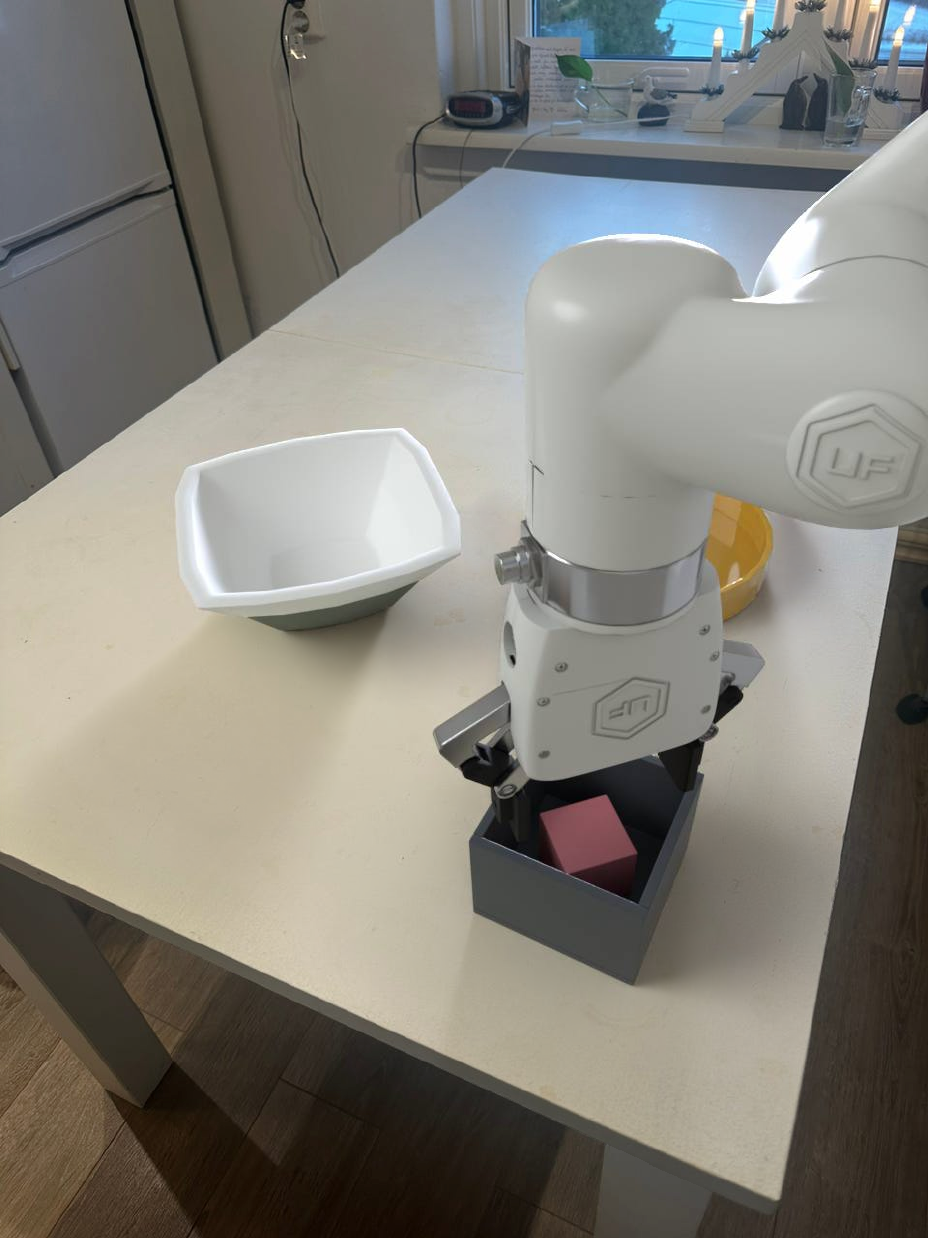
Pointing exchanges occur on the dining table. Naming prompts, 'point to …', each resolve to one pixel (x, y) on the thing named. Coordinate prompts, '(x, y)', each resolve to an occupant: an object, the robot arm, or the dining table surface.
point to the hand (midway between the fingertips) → (595, 795)
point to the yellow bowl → (738, 551)
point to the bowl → (313, 528)
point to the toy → (589, 844)
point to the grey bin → (573, 908)
